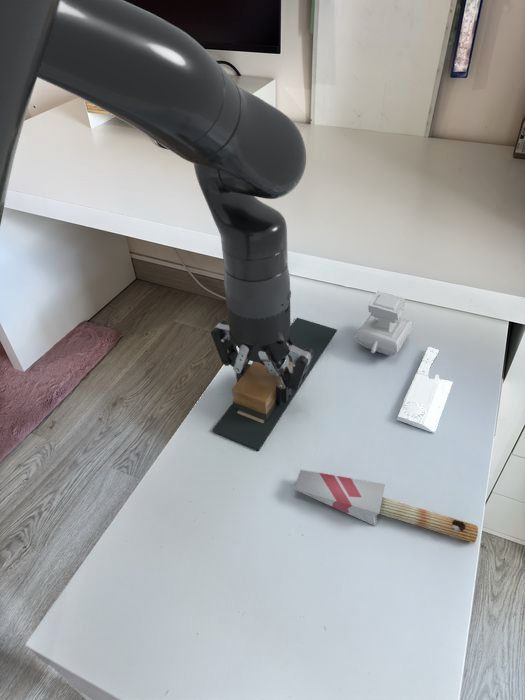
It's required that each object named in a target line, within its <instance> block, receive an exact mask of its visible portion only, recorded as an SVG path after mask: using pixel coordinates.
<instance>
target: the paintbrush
mask: <svg viewBox="0 0 525 700" xmlns="http://www.w3.org/2000/svg"><path fill="white" fill-rule="evenodd" d="M385 487H386V483H381V482H375V481H371V480H366V479H365V480H364V479H358V478H352V477H346V476H340V475H335V474H328V473H324V472H317V471H312V470H305V469H299V473H298V476H297V479H296V482H295V485H294V487H293V490H294V491H296V492H299V493H300V494H304V496H305V495H306V496H307V497H309V498H312V499H314V500H316V501H319V502H321V503H323V504H324V505H325V504H326V505H327V506H330V507H331V508H334V509H336V510H339V511H341V512H343V513H345V514H348V515H350V516H352V517H354V518H356V519H359V520H361V521H363V522H366V523H367V524H370V525H372V526H374V527H376V526H377V521H378V517H379V515H382V516H385V517H388V518H392V519H395V520H399V521H402V522H404V523H409V524H411V525H416V526H417V527H422V528H425V529H428V530H431V531H434V532H437V533H440V534H444V535H447V536H450V537H452V538H457V539H459V540H463V541H466V542H469V543H471V544H475V543H476V541H477V538H478V535H479V526H478V525H476V524H474V523H470V522H467V521H464V520H460V519H457V518H454V517H450V516H446V515H443V514H440V513H437V512H434V511H430V510H427V509H423V508H419V507H416V506H413V505H411V504H407V503H404V502H401V501H397V500H394V499H390V498H387V497H384V492H385ZM454 526H455V527H457V528H459V530H460V531H457V530H455V527H454Z"/></svg>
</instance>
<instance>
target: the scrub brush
mask: <svg viewBox="0 0 525 700" xmlns="http://www.w3.org/2000/svg"><path fill="white" fill-rule="evenodd" d="M292 364H293V363H292V362H290V361H289V366H290V368H291V371H292V373H293V366H292ZM282 375H283V373H282ZM276 386H277V384H276V382H275V380H274V378H273V376H270V375H269V373H268V371H267V369H266V367H265V365H262V364H261V363H259V362H253V361H252V363H251V366H250V367H249V368H248V369H247V371H246V372H245V373H244V375H243V376H242V377H241V379H240V380H239V381H238V382H237V381H236V384H235V385H234V386H233V387H232V389H231V390H232V399H233V402H234V407H235V409H236V410H239V411H241V412H244V413H246V414H249V415H252V416H254V417H257V418H259V419H262V420H264V421H267V420H268V419H269V417H270V416H271V414H272V413H273V411H274V410H275V408H276V407H277V405H278V404H277V403H276Z"/></svg>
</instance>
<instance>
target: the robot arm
mask: <svg viewBox="0 0 525 700" xmlns="http://www.w3.org/2000/svg"><path fill="white" fill-rule="evenodd" d="M37 79H39V80H42V81H44V82H46V83H48V84H50V85H53V86H54V87H57V88H59V89H61V90H63V91H64V92H67V93H69V94H71V95H74V96H75V97H77V98H80V99H81V100H83V101H85V102H87V103H89V104H91V105H93V106H95V107H97V108H99V109H101V110H103V111H105V112H107V113H108V114H109V115H112V116H114V117H116V118H117V119H119V120H121V121H123V122H125V123H126V124H128V125H129V126H131V127H133V128H135V129H136V130H138V131H139V132H141V133H142V134H144V135H146V136H147V137H149V138H150V139H152V140H153V141H155V142H156V143H158V144H159V145H161V146H162V147H164V148H166V149H167V150H168V151H170V152H172V153H173V154H175V155H176V156H178V157H180V158H181V159H183V160H185V161H186V162H189V163H191V164H193V169H194V172H195V176H196V180H197V183H198V185H199V188H200V191H201V192H202V196H203V197H204V200H205V202H206V204H207V207H208V210H209V211H210V214H211V216H212V219H213V222H214V224H215V226H216V228H217V230H218V232H219V236H220V242H221V243H220V244H221V251H222V260H223V270H224V273H223V288H224V296H225V302H226V303H225V304H226V305H225V306H226V312H227V313H226V314H227V321H226V320H225V319H222V320H220V321H219V322H218V324H216V325H215V326H214V327H213V329H212V330H211V331H210V335H211V337H212V340H213V343H214V346H215V348H216V350H217V353H218V356H219V359H220V361H221V363H222V364H223V365H224V366H225V367H229V366H231V367H232V369H233V371H234V373H235V376H236V383H237V382H238V381H239V380H240V379H241V377H242V376H243V375H244V373H245V372H246V371H247V369H248V368H249V367H250V366H251V364H252V363H253V362H259V363H261V364H262V365H265V367H266V369H267V371H268V373H269V375H270V376H273V378H274V380H275V382H276V384H277V386H276V403H277V404H278V405H281V406H282V405H283V403H286V402H287V400H288V399H289V397H290V396H291V389H292V390H297V389H298V387H299V385H300V384H301V382H302V381H303V380H304V378H305V376H306V374H307V371H308V368H309V365H310V362H311V360H312V357H313V354H314V351H313V350H312V349H311V348H309V347H307V348H305V350H302V349H300V348H298V347H296V346H294V345H293V341H292V339H291V337H290V326H291V325H292V324H291V323H292V322H291V297H292V291H291V276H290V271H289V262H288V260H289V259H288V258H289V257H288V255H289V254H288V226H287V222H286V219H285V217H284V215H283V214H282V213H281V212H280V211H278V210H277V209H275V208H274V207H272V206H270V205H269V204H266V203H264V202H262V201H261V200H260V199H258V198H261V199H266V200H277V199H281V198H283V197H285V196H288V195H289V194H290V193H292V192H293V191H294V190H295V189H296V187H298V185H299V184H300V182H301V180H302V179H303V177H304V173H305V169H306V165H307V150H306V145H305V141H304V139H303V135H302V133H301V131H300V129H299V128H298V126H297V125H296V123H295V122H294V121H293V120H292V119H291V118H290V117H288V116H287V114H285V113H284V112H282V111H281V110H280V109H278V108H276V107H275V106H273V105H272V104H270V103H269V102H267V101H265V100H264V99H262V98H260V97H259V96H257V95H254V94H253V93H251V92H249V91H247V90H245V89H243V88H241V87H240V86H239V85H238V84H237V82H236V81H235V80H234V79H233V77H232V76H230V75H229V74H228V73H227V71H226V70H225V69H224V68H223V67H222V65H220V64H219V63H218V61H217V60H216V59H215V58H214V57H213V56H212V55H211V54H210V52H208V51H207V50H206V49H205V48H204V46H202V44H200V43H199V42H198V41H197V40H196V39H194V37H192V36H191V35H189V34H188V33H187V32H185V31H184V30H182V29H181V28H179V27H178V26H175V25H174V24H172V23H170V22H169V21H167V20H165V19H163V18H161V17H159V16H157V15H156V14H154V13H151V12H150V11H147V10H145V9H143V8H141V7H139V6H136V5H134V4H133V3H130V2H128V1H126V0H0V226H1V225H2V219H3V214H4V209H5V204H6V199H7V194H8V188H9V183H10V179H11V176H12V169H13V166H14V160H15V158H16V153H17V149H18V146H19V141H20V138H21V134H22V130H23V126H24V123H25V119H26V116H27V113H28V110H29V106H30V103H31V100H32V96H33V92H34V89H35V86H36V82H37ZM288 354H289V355H290V356H291V357H292V362H293V364H292V366H293V367H295V368H294V371H293V373H292V371H291V368H290V366H289V357H288ZM250 362H252V363H251V364H250ZM282 373H283V375H282ZM304 381H305V380H304Z"/></svg>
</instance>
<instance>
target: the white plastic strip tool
mask: <svg viewBox="0 0 525 700" xmlns="http://www.w3.org/2000/svg"><path fill="white" fill-rule="evenodd" d="M425 350H426V351H425V353H424V355H423V357H422V360H421V362H420V364H419V366H418V369H417V370H416V373H415V375H414V377H413V379H412V382H411V384H410V385H409V387H408V390H407V391H406V394H405V395H404V399H403V401H402V404H401V407H400V410H399V412H398V414H397V417H396V421H398V422H402V423H404V424H407V425H409V426H413V427H415V428H418V429H421V430H424V431H425V432H426V431H427V432H429V433H433V434H435V433H436V430H437V428H438V425H439V422H440V421H441V420H440V419H441V418H442V414H443V411H444V408H445V406H446V403H447V401H448V398H449V395H450V392H451V390H452V386H453V384H454V381H451V380H447V379H442V378H440V375H439V374H435V376H434V378H430V377H429V373H430V369H431V366H432V364H433V362H434V361H435V359H436V358H437V356H438V355H439V352H440V349H439V348H434V347H432V346H427V348H426V349H425Z"/></svg>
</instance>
